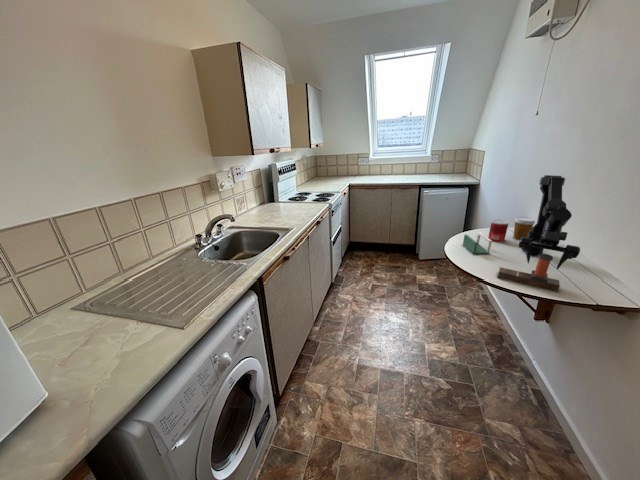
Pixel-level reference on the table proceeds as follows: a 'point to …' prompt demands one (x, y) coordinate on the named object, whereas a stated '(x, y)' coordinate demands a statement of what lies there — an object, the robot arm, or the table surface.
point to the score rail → (528, 279)
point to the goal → (476, 244)
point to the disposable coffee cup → (522, 227)
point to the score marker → (541, 268)
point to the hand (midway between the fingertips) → (542, 265)
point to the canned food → (498, 230)
